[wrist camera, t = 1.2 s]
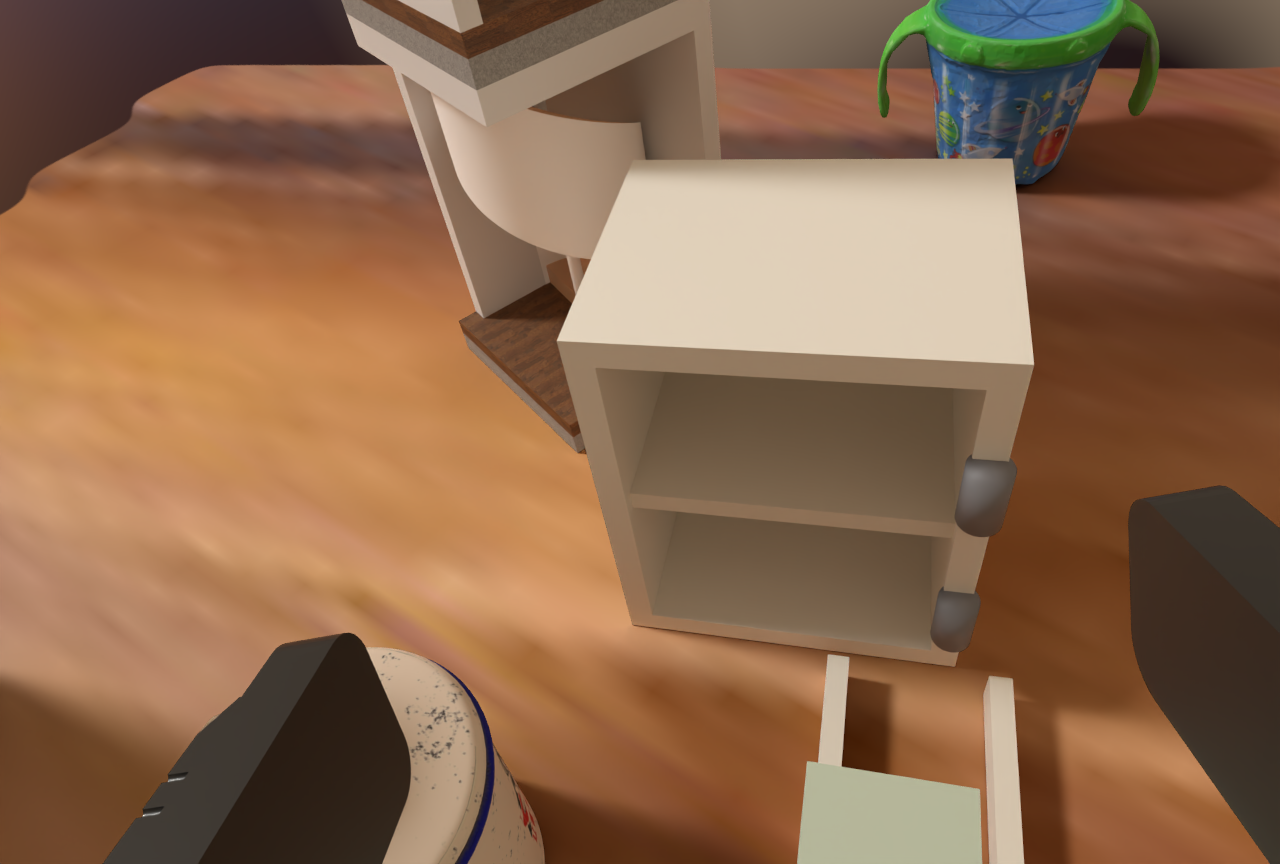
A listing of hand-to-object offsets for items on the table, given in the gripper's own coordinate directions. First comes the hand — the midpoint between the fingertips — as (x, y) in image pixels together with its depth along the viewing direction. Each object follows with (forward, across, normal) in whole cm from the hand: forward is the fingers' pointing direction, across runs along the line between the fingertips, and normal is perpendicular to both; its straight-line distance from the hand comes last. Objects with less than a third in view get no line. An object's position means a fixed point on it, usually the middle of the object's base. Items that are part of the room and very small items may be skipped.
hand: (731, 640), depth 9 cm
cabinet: (+23, -1, +17) cm, 28 cm away
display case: (+40, +8, +8) cm, 41 cm away
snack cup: (+53, -18, +6) cm, 57 cm away
